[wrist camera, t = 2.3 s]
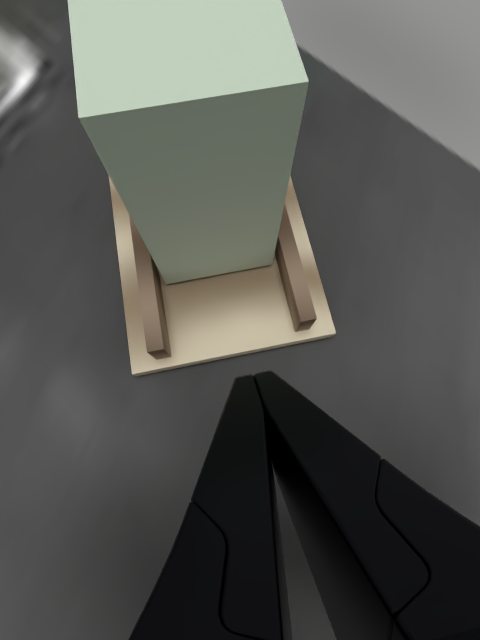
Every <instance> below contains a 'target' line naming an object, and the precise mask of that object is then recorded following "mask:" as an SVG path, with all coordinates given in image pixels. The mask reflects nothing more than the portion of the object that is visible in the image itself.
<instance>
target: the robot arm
mask: <svg viewBox="0 0 480 640" xmlns="http://www.w3.org/2000/svg"><path fill="white" fill-rule="evenodd" d="M272 465H273V467H272ZM273 469H274V472H275V475H276V478H277V481H278V484H279V486H280V489H281V492H282V494H283V497H284V500H285V502H286V505H287V508H288V510H289V513H290V516H291V518H292V521H293V524H294V526H295V529H296V532H297V534H298V537H299V540H300V542H301V545H302V548H303V550H304V553H305V556H306V558H307V561H308V564H309V566H310V569H311V572H312V574H313V577H314V580H315V582H316V585H317V588H318V590H319V593H320V596H321V598H322V601H323V604H324V606H325V609H326V612H327V614H328V617H329V620H330V622H331V625H332V628H333V631H334V633H335V636H336V639H337V640H480V526H478V525H477V524H475V523H473V522H472V521H470V520H469V519H467V518H466V517H464V516H463V515H461V514H460V513H458V512H457V511H455V510H454V509H452V508H451V507H449V506H448V505H446V504H445V503H443V502H442V501H440V500H439V499H437V498H436V497H435V496H433V495H432V494H430V493H429V492H427V491H426V490H425V489H423V488H422V487H421V486H419V485H418V484H416V483H415V482H414V481H412V480H411V479H410V478H408V477H407V476H406V475H404V474H403V473H402V472H400V471H399V470H398V469H397V468H395V467H394V466H393V465H391V464H390V463H389V462H388V461H386V460H385V459H382V460H381V456H380V455H378V454H377V453H376V452H375V451H373V450H372V449H371V448H370V447H368V446H367V445H366V444H364V443H363V442H362V441H361V440H359V439H358V438H357V437H356V436H354V435H353V434H352V433H350V432H349V431H348V430H347V429H345V428H344V427H343V426H342V425H340V424H339V423H338V422H336V421H335V420H334V419H333V418H331V417H330V416H329V415H328V414H326V413H325V412H324V411H322V410H321V409H320V408H319V407H317V406H316V405H315V404H313V403H312V402H311V401H310V400H308V399H307V398H306V397H305V396H303V395H302V394H301V393H299V392H298V391H297V390H296V389H294V388H293V387H292V386H291V385H289V384H288V383H287V382H285V381H284V380H283V379H282V378H280V377H279V376H278V375H277V374H275V373H274V372H273V371H270V370H268V371H263V372H258V373H255V374H254V377H253V375H251V374H248V375H243V376H238V377H236V378H235V379H234V382H233V384H232V387H231V390H230V393H229V395H228V398H227V401H226V404H225V406H224V409H223V412H222V415H221V418H220V420H219V423H218V426H217V429H216V431H215V434H214V437H213V440H212V442H211V445H210V448H209V451H208V453H207V456H206V459H205V462H204V464H203V467H202V470H201V473H200V476H199V478H198V481H197V484H196V487H195V489H194V492H193V495H192V498H191V501H192V502H190V503H189V505H188V508H187V511H186V514H185V516H184V519H183V522H182V524H181V527H180V529H179V532H178V534H177V537H176V540H175V542H174V545H173V547H172V550H171V552H170V554H169V556H168V559H167V561H166V563H165V565H164V567H163V569H162V572H161V574H160V576H159V578H158V580H157V582H156V585H155V587H154V589H153V591H152V593H151V595H150V597H149V599H148V601H147V603H146V605H145V607H144V609H143V611H142V613H141V615H140V617H139V619H138V621H137V623H136V625H135V627H134V629H133V631H132V634H131V636H130V638H129V640H292V631H291V622H290V613H289V604H288V596H287V587H286V578H285V569H284V560H283V551H282V543H281V534H280V525H279V516H278V507H277V498H276V490H275V481H274V474H273Z"/></svg>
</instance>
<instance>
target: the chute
mask: <svg viewBox="0 0 480 640" xmlns="http://www.w3.org/2000/svg"><path fill="white" fill-rule="evenodd" d="M109 181H110V189H111V198H112V206H113V215H114V224H115V232H116V241H117V249H118V258H119V266H120V275H121V284H122V292H123V301H124V309H125V318H126V326H127V335H128V344H129V352H130V361H131V369H132V374H133V375H135V376H140V375H145V374H150V373H155V372H160V371H165V370H170V369H175V368H180V367H185V366H190V365H195V364H200V363H205V362H210V361H215V360H220V359H225V358H230V357H235V356H239V355H244V354H249V353H254V352H259V351H264V350H269V349H274V348H279V347H284V346H289V345H294V344H299V343H304V342H309V341H314V340H319V339H324V338H329V337H333V336H334V335H335V334H336V332H335V328H334V325H333V321H332V318H331V314H330V311H329V307H328V304H327V301H326V297H325V294H324V290H323V287H322V283H321V280H320V277H319V273H318V270H317V266H316V263H315V259H314V256H313V252H312V249H311V246H310V242H309V239H308V235H307V232H306V228H305V225H304V222H303V218H302V215H301V211H300V208H299V204H298V201H297V197H296V194H295V191H294V187H293V184H292V180H291V177H290V178H289V183H288V188H287V193H286V198H285V203H284V208H283V213H282V218H281V223H280V228H279V233H278V238H277V243H276V248H275V253H274V258H273V263H272V265H267V266H261V267H256V268H251V269H245V270H240V271H235V272H229V273H224V274H219V275H214V276H208V277H203V278H198V279H192V280H187V281H182V282H176V283H171V284H166V283H165V281H164V279H163V277H162V275H161V273H160V271H159V270H158V268H157V266H156V264H155V262H154V260H153V258H152V256H151V254H150V253H149V251H148V249H147V247H146V245H145V243H144V241H143V239H142V237H141V235H140V234H139V232H138V230H137V228H136V226H135V224H134V222H133V220H132V218H131V216H130V215H129V213H128V211H127V209H126V207H125V205H124V203H123V201H122V199H121V197H120V196H119V194H118V192H117V190H116V188H115V186H114V184H113V182H112V180H111V178H110V177H109Z"/></svg>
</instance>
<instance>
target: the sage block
mask: <svg viewBox="0 0 480 640" xmlns="http://www.w3.org/2000/svg"><path fill="white" fill-rule="evenodd" d="M68 8H69V19H70V30H71V40H72V51H73V62H74V73H75V83H76V94H77V105H78V116H79V120H80V121H81V123H82V125H83V127H84V129H85V131H86V133H87V135H88V137H89V139H90V140H91V142H92V144H93V146H94V148H95V150H96V152H97V154H98V156H99V158H100V159H101V161H102V163H103V165H104V167H105V169H106V171H107V173H108V175H109V177H110V178H111V180H112V182H113V184H114V186H115V188H116V190H117V192H118V194H119V196H120V197H121V199H122V201H123V203H124V205H125V207H126V209H127V211H128V213H129V215H130V216H131V218H132V220H133V222H134V224H135V226H136V228H137V230H138V232H139V234H140V235H141V237H142V239H143V241H144V243H145V245H146V247H147V249H148V251H149V253H150V254H151V256H152V258H153V260H154V262H155V264H156V266H157V268H158V270H159V271H160V273H161V275H162V277H163V279H164V281H165V283H166V284H171V283H176V282H182V281H187V280H192V279H198V278H203V277H208V276H214V275H219V274H224V273H229V272H235V271H240V270H245V269H251V268H256V267H261V266H267V265H272V263H273V258H274V253H275V248H276V243H277V238H278V233H279V228H280V223H281V218H282V213H283V208H284V203H285V198H286V193H287V188H288V183H289V178H290V173H291V168H292V163H293V158H294V153H295V148H296V143H297V138H298V133H299V128H300V123H301V118H302V113H303V108H304V103H305V98H306V93H307V88H308V83H309V81H308V78H307V75H306V72H305V69H304V66H303V63H302V60H301V57H300V54H299V51H298V48H297V46H296V43H295V40H294V37H293V34H292V31H291V28H290V25H289V22H288V19H287V16H286V13H285V10H284V8H283V4H282V1H281V0H68Z"/></svg>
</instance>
